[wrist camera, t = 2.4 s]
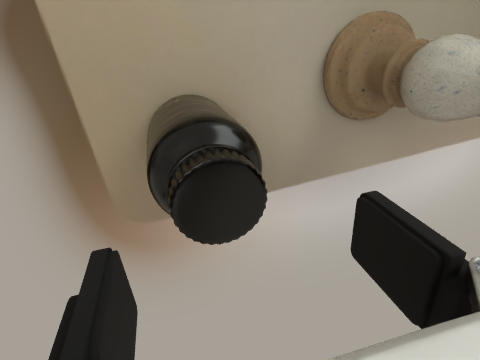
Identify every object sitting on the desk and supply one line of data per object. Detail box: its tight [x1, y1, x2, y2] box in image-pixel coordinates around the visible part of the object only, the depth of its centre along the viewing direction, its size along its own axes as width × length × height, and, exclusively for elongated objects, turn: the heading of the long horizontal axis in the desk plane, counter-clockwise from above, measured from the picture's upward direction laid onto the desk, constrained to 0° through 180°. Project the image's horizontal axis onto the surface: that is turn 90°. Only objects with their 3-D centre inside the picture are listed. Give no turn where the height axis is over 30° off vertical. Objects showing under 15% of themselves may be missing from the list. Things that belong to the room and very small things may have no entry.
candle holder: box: [324, 11, 480, 122], centre depth 17 cm, size 9×9×20 cm
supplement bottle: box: [147, 95, 267, 245], centre depth 19 cm, size 7×7×12 cm
